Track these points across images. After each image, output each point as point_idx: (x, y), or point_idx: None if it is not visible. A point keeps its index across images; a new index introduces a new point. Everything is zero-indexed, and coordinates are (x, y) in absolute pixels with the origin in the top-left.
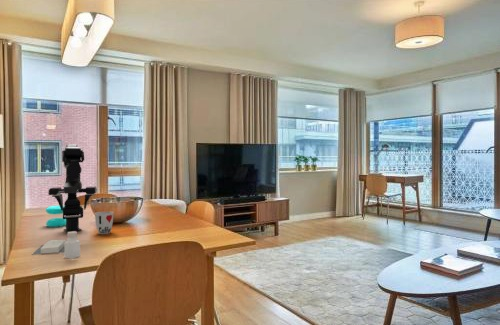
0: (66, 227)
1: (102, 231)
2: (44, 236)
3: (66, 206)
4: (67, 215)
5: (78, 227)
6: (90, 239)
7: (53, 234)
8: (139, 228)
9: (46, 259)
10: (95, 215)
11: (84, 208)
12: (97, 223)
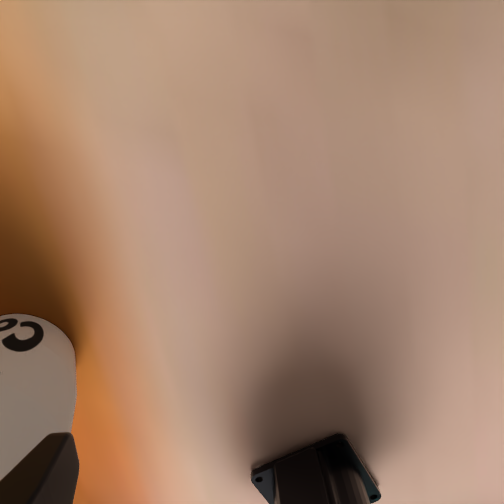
0: (363, 488)
1: (9, 325)
2: (499, 345)
3: None
4: None
5: (275, 498)
6: (82, 146)
7: (437, 392)
8: None
9: None
10: None
11: (52, 450)
12: (27, 386)
